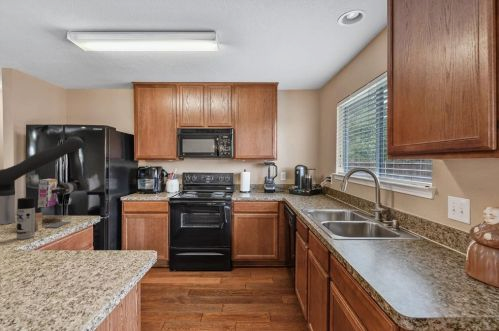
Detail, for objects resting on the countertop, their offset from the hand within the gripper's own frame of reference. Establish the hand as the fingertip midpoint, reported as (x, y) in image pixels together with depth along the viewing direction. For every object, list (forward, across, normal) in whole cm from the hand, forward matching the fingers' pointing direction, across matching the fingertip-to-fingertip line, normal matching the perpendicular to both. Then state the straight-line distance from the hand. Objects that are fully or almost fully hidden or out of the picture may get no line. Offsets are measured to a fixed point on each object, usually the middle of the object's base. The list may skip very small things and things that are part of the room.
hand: (46, 191), depth 147 cm
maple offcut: (+8, 0, +20) cm, 22 cm away
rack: (+2, -1, +20) cm, 21 cm away
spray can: (+25, +6, +20) cm, 33 cm away
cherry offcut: (+8, 0, +16) cm, 18 cm away
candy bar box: (-1, 0, +9) cm, 9 cm away
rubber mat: (0, +6, +20) cm, 21 cm away
